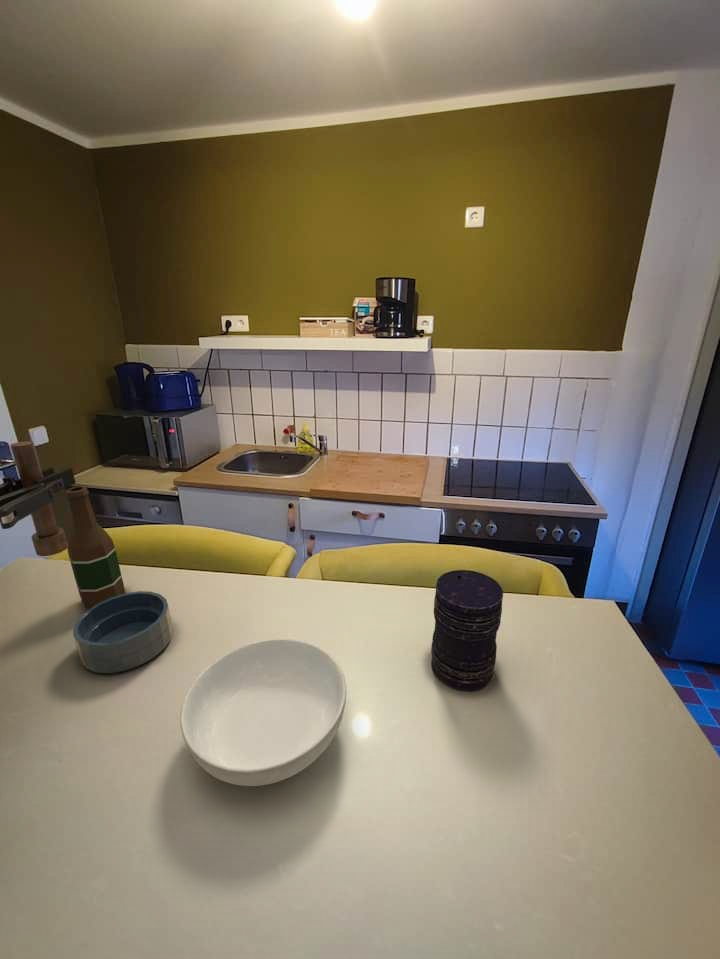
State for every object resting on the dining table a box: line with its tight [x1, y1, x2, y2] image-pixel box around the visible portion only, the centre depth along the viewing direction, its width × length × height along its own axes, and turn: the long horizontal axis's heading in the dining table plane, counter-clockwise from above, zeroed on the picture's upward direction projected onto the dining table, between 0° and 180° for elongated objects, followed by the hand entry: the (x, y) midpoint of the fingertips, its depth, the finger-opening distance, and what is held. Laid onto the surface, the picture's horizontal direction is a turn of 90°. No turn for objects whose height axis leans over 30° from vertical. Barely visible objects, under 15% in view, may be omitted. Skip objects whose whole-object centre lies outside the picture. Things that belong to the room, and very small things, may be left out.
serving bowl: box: [180, 638, 347, 787], centre depth 57 cm, size 21×21×7 cm
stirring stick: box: [9, 440, 69, 557], centre depth 67 cm, size 4×4×18 cm
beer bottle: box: [64, 485, 126, 611], centre depth 82 cm, size 8×8×24 cm
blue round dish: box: [72, 590, 174, 674], centre depth 73 cm, size 14×14×6 cm
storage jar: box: [430, 569, 504, 693], centre depth 65 cm, size 10×10×15 cm
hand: (62, 475), depth 71 cm, fingers closed on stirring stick, 3 cm apart
